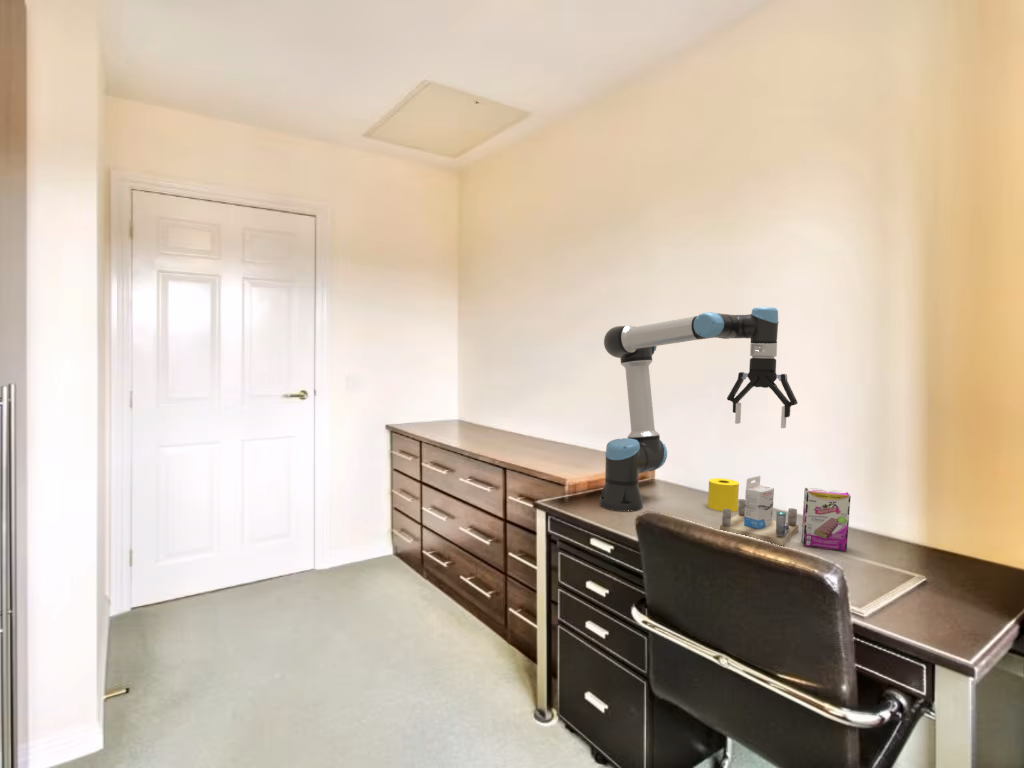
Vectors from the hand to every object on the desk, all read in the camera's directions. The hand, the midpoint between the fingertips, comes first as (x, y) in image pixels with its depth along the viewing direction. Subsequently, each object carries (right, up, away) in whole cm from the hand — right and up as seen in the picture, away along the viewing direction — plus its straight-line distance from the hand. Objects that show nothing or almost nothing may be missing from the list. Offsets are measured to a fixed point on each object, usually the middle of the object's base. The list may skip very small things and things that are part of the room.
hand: (759, 425), depth 174 cm
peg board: (-1, -33, -1) cm, 33 cm away
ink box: (-1, -31, -1) cm, 31 cm away
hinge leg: (+2, -31, -10) cm, 32 cm away
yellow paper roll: (-2, -31, +25) cm, 40 cm away
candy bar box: (+12, -34, -14) cm, 39 cm away
